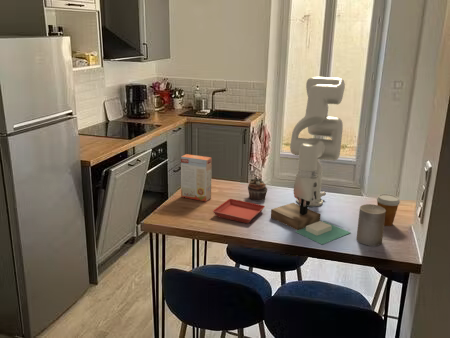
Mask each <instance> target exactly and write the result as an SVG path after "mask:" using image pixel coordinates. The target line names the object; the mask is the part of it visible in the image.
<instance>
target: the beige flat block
mask: <svg viewBox="0 0 450 338" xmlns="http://www.w3.org/2000/svg"><path fill="white" fill-rule="evenodd" d="M331 228H332V226H331V225H329V224H326V223H324V222H323V221H321V220H320V221H319V222H316V223H313V224H310V225H308V226H306V231H308V232H310V233H312V234H314V235H320V234H323V233H325V232H328V231H331Z"/></svg>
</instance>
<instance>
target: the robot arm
mask: <svg viewBox="0 0 450 338" xmlns="http://www.w3.org/2000/svg"><path fill="white" fill-rule="evenodd" d="M345 83H346V82H345V81H344V79H343V78H341V77H328V76H326V77H325V76H312V77H309V78H308V79H307V80H306V84H305V85H306V86H305V88H306V89H305V90H306V95H307V103H306V109H305V115H304V116H303V117H302V118H301V119H300V120H299V121H298V122H297V123H296V124H295V126H294V128H293V130H292V134H291V140H290V144H289V145H290V146H289V150H290V151H289V152H291V154H292V155H293V156H294V155H295V156H298V161H297V162H298V163H297V164H298V165H297V174H296V176H295V179H294V184H293V197H294V198H295V199H296V202H297V204H298V205H300V214H302V215H304V214H307V212H308V209H309V207H319V206H322V205H323V203H324V200H323V199H322V197H324V196H326V195H327V194H326V191H322V180H323V179H322V178H323V169H324V168H323V166H322V163H321V162H320V160H322V161H323V160H326V161H337V160H339V157H340V155H341V147H342V140H343V139H342V138H343V129H344V127H343V126H344V125H343V120H342V119H341V118H340V117H336V116H328V113H329V105H336V106H337V105H339V104H341V103H342V100H343V98H344V93H345V85H346V84H345ZM305 129H307V133H308V134H309V135H311V136H314V137H308V138H304V137H299V135H300V134H301V132H302V131H303V130H305ZM315 137H325V138H315ZM327 138H330V139H327ZM321 191H322V192H321Z"/></svg>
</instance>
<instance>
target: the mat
mask: <svg viewBox="0 0 450 338" xmlns="http://www.w3.org/2000/svg"><path fill="white" fill-rule="evenodd" d="M322 222H324V223H326V224H329V225H331V226H332V228H331V231H328V232H325V233H323V234H320V235H314V234H312V233H310V232H308V231H306V228H303V229H300V230H296V231H294V232H295V233H297V234H299V235H301V236H303V237H305V238H307V239H309V240H311V241H314V242H316V243H317V244H320V245H325V244H327V243H330V242H332V241H335V240H337V239H340V238H343V237H344V236H347V235H349V234H351V231H348V230H346V229H344V228H340V227H339V226H337V225H334V224H331V223H329V222H327V221H322Z"/></svg>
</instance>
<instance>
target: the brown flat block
mask: <svg viewBox="0 0 450 338" xmlns="http://www.w3.org/2000/svg"><path fill="white" fill-rule="evenodd" d="M270 210H271V211H270V219H273V220H274V221H277V222H279V223H281V224H283V225H285V226H288V227H289V228H292V229H294V230H296V231H298V230H300V229H303V228H306V226H308V225H310V224H313V223H316V222H319V221H321V213H320V212H318V211H315V210H313V209H310V208H308V212H307V214H304V215H302V214H300V205H299V203H295V202H292V203H288V204H284V205H281V206H277V207H274V208H271V209H270Z"/></svg>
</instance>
